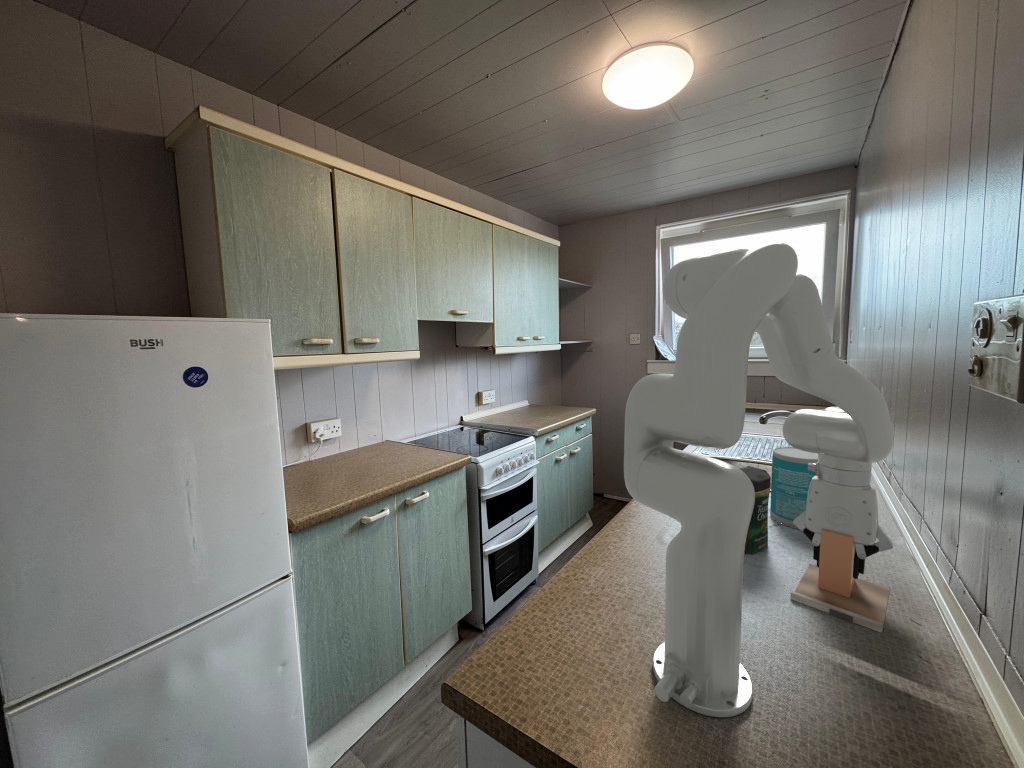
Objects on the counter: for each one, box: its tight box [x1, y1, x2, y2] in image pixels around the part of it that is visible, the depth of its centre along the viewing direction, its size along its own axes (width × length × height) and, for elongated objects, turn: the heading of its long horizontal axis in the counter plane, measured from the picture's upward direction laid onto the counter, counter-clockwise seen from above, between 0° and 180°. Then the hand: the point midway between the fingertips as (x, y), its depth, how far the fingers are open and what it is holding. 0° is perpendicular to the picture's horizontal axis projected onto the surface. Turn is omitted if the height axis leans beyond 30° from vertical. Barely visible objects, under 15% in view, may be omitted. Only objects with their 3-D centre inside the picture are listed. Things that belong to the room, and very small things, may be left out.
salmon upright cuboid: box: [818, 529, 856, 597], centre depth 75 cm, size 5×7×11 cm, turn 134°
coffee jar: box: [739, 465, 772, 555], centre depth 90 cm, size 10×8×19 cm
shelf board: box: [790, 563, 891, 634], centre depth 73 cm, size 16×12×2 cm
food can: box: [769, 446, 818, 530], centre depth 104 cm, size 12×12×18 cm
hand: (837, 569), depth 75 cm, fingers closed on salmon upright cuboid, 4 cm apart
